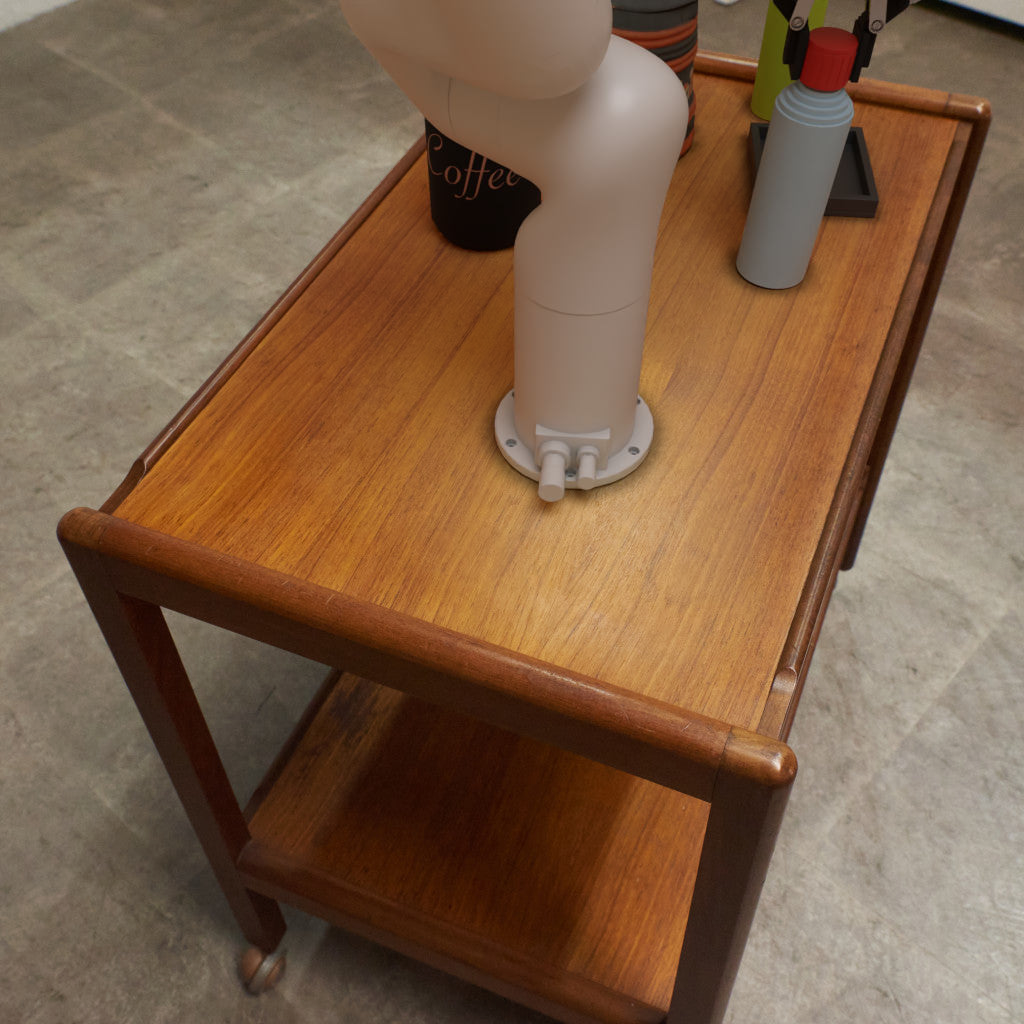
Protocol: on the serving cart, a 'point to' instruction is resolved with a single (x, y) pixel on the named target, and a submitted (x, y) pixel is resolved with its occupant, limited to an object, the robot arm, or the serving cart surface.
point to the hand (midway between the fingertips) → (822, 71)
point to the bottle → (793, 184)
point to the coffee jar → (475, 195)
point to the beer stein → (664, 39)
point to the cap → (829, 58)
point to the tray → (851, 181)
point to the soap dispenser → (777, 58)
